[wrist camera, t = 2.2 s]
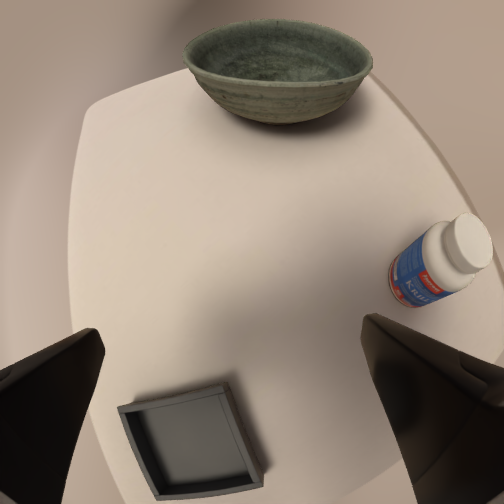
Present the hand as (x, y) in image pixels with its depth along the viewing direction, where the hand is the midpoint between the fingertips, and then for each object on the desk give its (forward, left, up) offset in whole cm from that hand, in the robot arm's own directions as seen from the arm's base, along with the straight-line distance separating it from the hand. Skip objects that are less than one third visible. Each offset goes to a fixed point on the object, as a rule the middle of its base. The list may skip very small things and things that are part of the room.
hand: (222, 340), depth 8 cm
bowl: (+7, -28, -14) cm, 33 cm away
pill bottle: (-12, -10, -14) cm, 21 cm away
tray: (+1, +10, -14) cm, 17 cm away
